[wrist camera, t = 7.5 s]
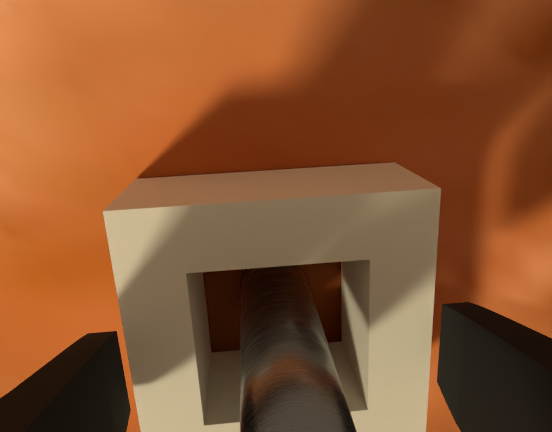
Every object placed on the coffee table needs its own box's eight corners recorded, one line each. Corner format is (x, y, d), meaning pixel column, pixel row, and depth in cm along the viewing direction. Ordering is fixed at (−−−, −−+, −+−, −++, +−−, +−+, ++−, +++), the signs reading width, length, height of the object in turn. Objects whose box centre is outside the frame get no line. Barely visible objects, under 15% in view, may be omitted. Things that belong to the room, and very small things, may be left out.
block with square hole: (388, 377, 14) (424, 452, 12) (167, 398, 14) (149, 480, 11) (394, 162, 12) (441, 188, 9) (135, 179, 12) (103, 211, 9)
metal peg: (314, 314, 14) (427, 678, 5) (245, 326, 14) (253, 713, 5) (304, 250, 13) (414, 552, 5) (232, 263, 13) (217, 593, 5)
